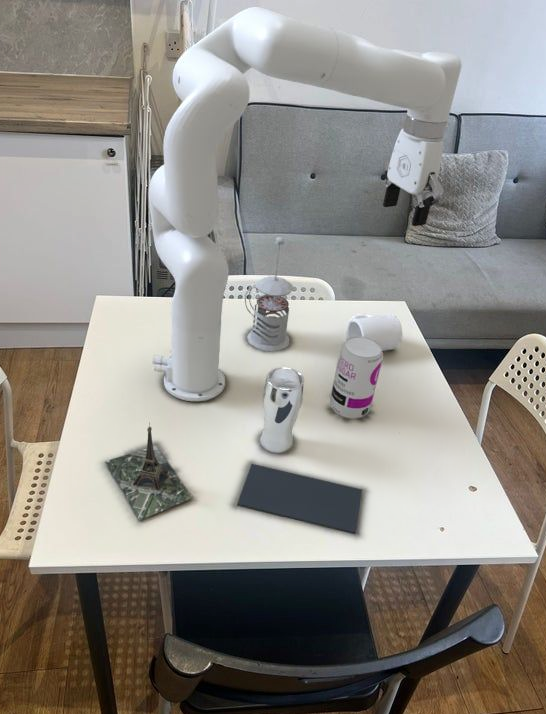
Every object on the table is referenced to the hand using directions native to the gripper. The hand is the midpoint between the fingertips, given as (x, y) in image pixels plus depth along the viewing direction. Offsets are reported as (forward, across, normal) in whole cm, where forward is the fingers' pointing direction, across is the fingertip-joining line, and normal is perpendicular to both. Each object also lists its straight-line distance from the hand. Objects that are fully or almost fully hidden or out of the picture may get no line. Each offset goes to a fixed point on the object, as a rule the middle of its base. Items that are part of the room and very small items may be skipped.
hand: (403, 215), depth 130 cm
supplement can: (+31, +18, -19) cm, 41 cm away
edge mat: (+31, +36, -40) cm, 62 cm away
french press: (+31, -10, -23) cm, 40 cm away
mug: (+31, 0, -2) cm, 31 cm away
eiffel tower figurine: (+31, +23, -63) cm, 74 cm away
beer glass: (+31, +22, -37) cm, 54 cm away
